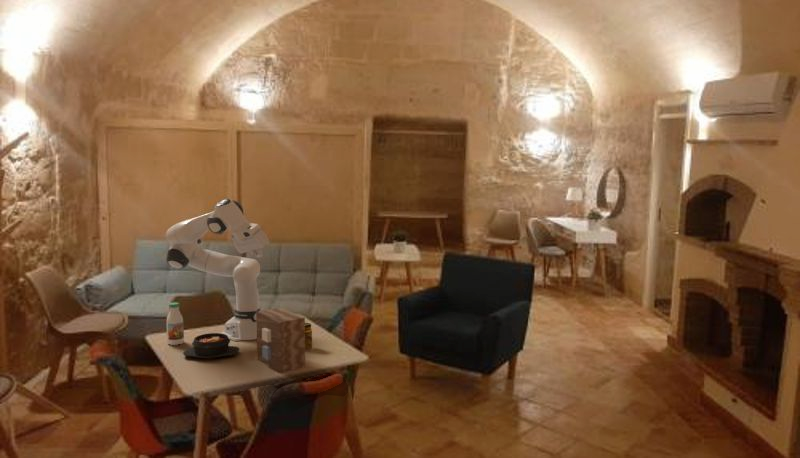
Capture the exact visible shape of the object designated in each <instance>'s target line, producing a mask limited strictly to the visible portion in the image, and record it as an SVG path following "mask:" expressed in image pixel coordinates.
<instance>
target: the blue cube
mask: <svg viewBox="0 0 800 458" xmlns="http://www.w3.org/2000/svg"><path fill="white" fill-rule="evenodd" d="M262 357H263V358H265V359H266V360H271V359H272V349H271V347H269V346H267V345H266V346H262Z"/></svg>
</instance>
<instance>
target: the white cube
mask: <svg viewBox="0 0 800 458" xmlns="http://www.w3.org/2000/svg"><path fill="white" fill-rule="evenodd" d="M262 340H264V341H266V342H271V330H270V329H268V328H263V329H262Z"/></svg>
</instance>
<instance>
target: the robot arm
mask: <svg viewBox="0 0 800 458" xmlns="http://www.w3.org/2000/svg"><path fill="white" fill-rule="evenodd" d="M208 231H211V232H212V234H216V235H222V234H224V233H226V232H227V231H229V232H230V234H232V235H231V238H230V239H231V240H232V243H233V246H234V247H235V249H236V251H237V252H238V253H239V254H245V253H248V252H250V253H251V254H252V255H254V256H256V258H257V259H259V258H263V257H264V252H263V251H262V249H263V248H266V247H267V246H268V245H269V244H270V239H269V237H268V236H267V234H266V233H265V231H263V229H261V226H260V224H259V223H255V222H254V223H252V222H249V220H248V218H246V217H245V216H244V208H243V206H242V204H241V203H240V202H238V201H236V200H233V199H231V198H225V199H222V200H221V201H219V202H217V203H216V204H215V205H214V210H211V211H209V212H207V213H204V214H202V215H198V216H195V217H193V218H188V219H185V220H183V221H180V222H178V223H175V224H174V225H172V226H171V227H169V228H168V229H167V231H166V232H165V239H166V241H167V242H168V244H169V245H170V247H169V249H168V251H167V254H166V262H167V264H168V265H169V266H170V267H172V268H174V269H179V270H181V269H185V268H186V267H187V266H189V267H191V268H192V269H196V270H197V271H200V272H204V273H207V274H212V275H215V276H219V277H229V278H231V277H232V279H233V284H234V290H235V296H236V297H235V299H236V300H235V301H236V302H235V303H236V309H234V310H232V313H234V316H233V317H231V318H230V319H228V320H227V321H226V322H225V323H224V328H223V330H222V331H221V332H220V333H221V334H225V335H227V336H228V338H229V339H230V341H233V342H234V341H235V342H237V341H238V342H239V341H240V342H241V341H253V340H257V320H256V312H258V311H261V308H260V298H259V297H260V293H259V289H258V284H257V278H258V276H259V275H260V273H261V264H260V263H259V262H258V260H257V259H255V258H248V257H243V256H238V255H230V254H226V253H222V252H218V251H213V250H210V249H205V248H202V247H200V245H199V244H201V243H202V240H201V238H202V237H203V236H204V235H205V234H206V233H207V232H208Z"/></svg>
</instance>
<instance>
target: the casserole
mask: <svg viewBox="0 0 800 458" xmlns="http://www.w3.org/2000/svg"><path fill="white" fill-rule="evenodd" d="M230 342H231V339H229V338H228V336H227V335H225V334H221V332H219V333H218V332H211V333H209V332H208V333H204V334H200V335H197V336H195V337H194V339H193V341H192V342H191V345H192V347H188V348H186V349H185V350H184V351H183V352H182V354H183V355H184V356H186V357H193V358H198V359H199V358H200V359H202V360H203V359H207V360H209V359H211V360H212V359H218V358H220V357H228V356H233V355H235V354H238V352H239V351H240V348H239V347H238V346H235V345H229V344H230Z"/></svg>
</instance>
